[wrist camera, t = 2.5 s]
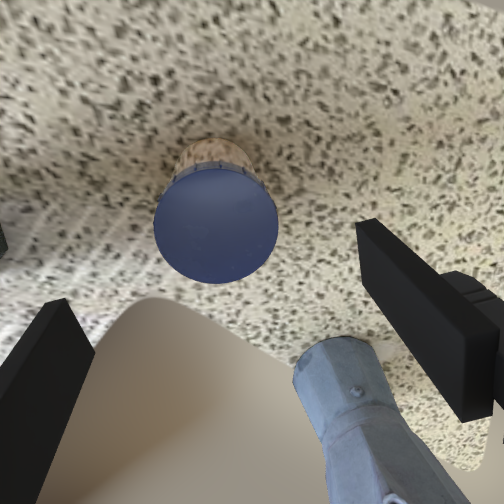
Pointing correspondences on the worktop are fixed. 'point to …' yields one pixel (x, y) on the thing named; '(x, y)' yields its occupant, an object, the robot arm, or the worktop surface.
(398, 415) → the moka pot
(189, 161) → the jam jar
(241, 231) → the jam lid
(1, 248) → the wine bottle
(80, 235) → the worktop surface
